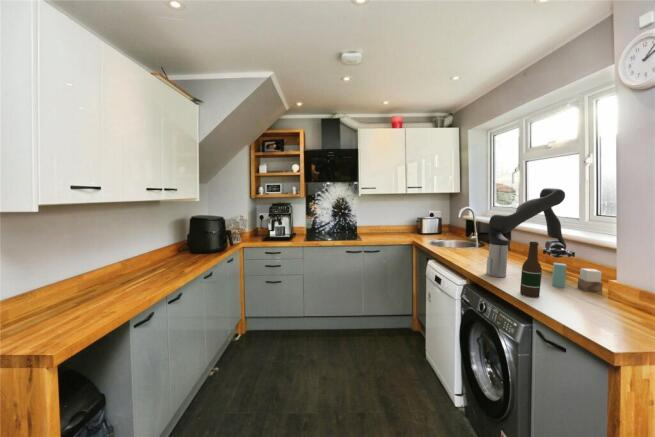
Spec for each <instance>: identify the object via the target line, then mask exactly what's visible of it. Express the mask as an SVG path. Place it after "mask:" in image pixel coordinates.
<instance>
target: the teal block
mask: <svg viewBox="0 0 655 437" xmlns="http://www.w3.org/2000/svg"><path fill="white" fill-rule="evenodd" d="M552 266H553V268H552V277H551V286H552V287H557V288H565V287H566V286H565V285H566V276H567V264H566V263H560V262H559V263H558V262H553V265H552Z"/></svg>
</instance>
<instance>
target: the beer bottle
mask: <svg viewBox="0 0 655 437" xmlns="http://www.w3.org/2000/svg"><path fill="white" fill-rule="evenodd" d="M528 244H529V248H528V255H527V258H526V260H525V261H524V262H523V263H522V267H521V275H520V276H521V278H520V285H519V286H520V288H519V290H520V291H519V292H520V296H521V295H522V296H523V295H524V297H527V298H534V299H535V298H540V294H541V283H542V265H541V264H540V263H541V262H540V261H539V258H538V257H539V256H538V255H539V253H538V252H539V250H538V249H539V245H540V244H539V242H538V241H529V243H528Z"/></svg>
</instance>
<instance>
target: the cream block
mask: <svg viewBox="0 0 655 437" xmlns="http://www.w3.org/2000/svg"><path fill="white" fill-rule="evenodd" d="M602 273H603V272H602V271H600V270H598V269H596V268H584V267H581V268H580V272H579V278H580V279H583V280H585V281H589V282H602Z"/></svg>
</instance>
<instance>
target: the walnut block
mask: <svg viewBox="0 0 655 437" xmlns="http://www.w3.org/2000/svg"><path fill="white" fill-rule="evenodd" d="M603 285H604V283H603V282H602V281H601V282H589V281H585V280H583V279H580V277H578V278H577V287H578V288H577V289H579V288H580V290H581V291H583V292H585V293H587V292H588V293H597V292H601V293H600V294H602V293H603V287H604V286H603Z"/></svg>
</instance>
